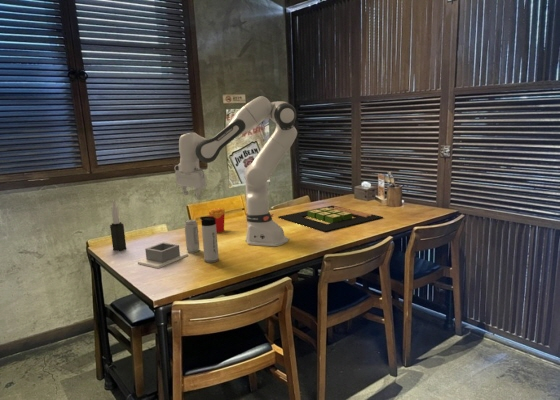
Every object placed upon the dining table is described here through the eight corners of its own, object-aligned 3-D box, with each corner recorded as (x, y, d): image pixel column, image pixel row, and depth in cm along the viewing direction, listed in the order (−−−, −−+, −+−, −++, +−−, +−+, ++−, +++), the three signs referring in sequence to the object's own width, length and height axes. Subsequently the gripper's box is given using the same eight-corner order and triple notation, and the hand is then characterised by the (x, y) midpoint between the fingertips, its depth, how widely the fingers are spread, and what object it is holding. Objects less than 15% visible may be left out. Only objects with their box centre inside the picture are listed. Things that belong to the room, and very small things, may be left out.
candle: (118, 251, 198) (112, 201, 193) (112, 250, 200) (105, 200, 195) (127, 248, 202) (121, 199, 197) (120, 247, 204) (114, 198, 200)
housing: (188, 255, 187) (187, 243, 185) (158, 268, 172) (156, 255, 170) (168, 251, 193) (167, 239, 192) (137, 263, 178) (136, 250, 177)
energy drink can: (190, 248, 197) (188, 219, 194) (201, 249, 195) (199, 219, 192) (184, 252, 191) (181, 222, 188) (195, 253, 189) (193, 222, 186)
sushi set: (383, 219, 239) (383, 212, 238) (325, 234, 215) (325, 226, 214) (332, 207, 276) (332, 201, 275) (278, 219, 251) (278, 212, 250)
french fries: (211, 233, 222) (209, 210, 220) (209, 231, 226) (207, 209, 223) (227, 230, 226) (225, 208, 224) (224, 229, 230) (223, 207, 228)
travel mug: (204, 258, 181) (200, 215, 178) (219, 257, 182) (215, 214, 178) (203, 263, 175) (199, 219, 171) (218, 262, 176) (214, 218, 172)
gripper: (208, 168, 186) (210, 197, 188) (183, 165, 199) (185, 192, 202) (197, 169, 181) (199, 199, 184) (172, 166, 195) (174, 194, 197)
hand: (191, 196), depth 193 cm, fingers open, 8 cm apart
